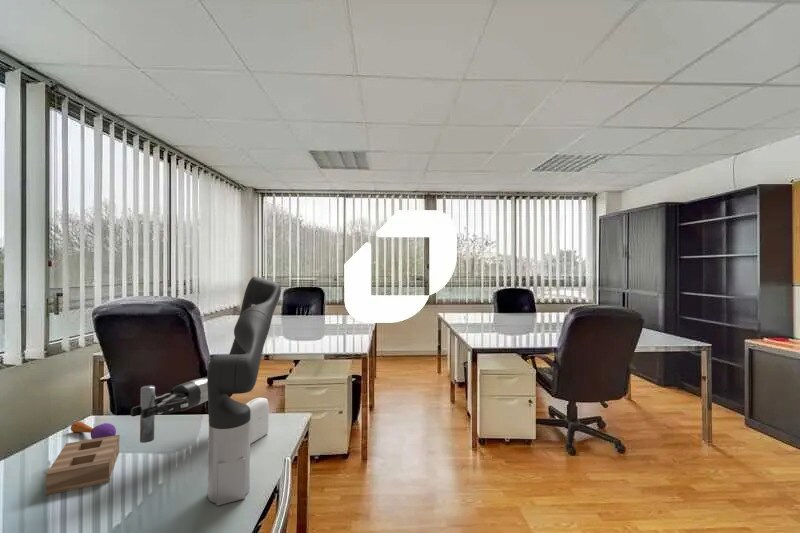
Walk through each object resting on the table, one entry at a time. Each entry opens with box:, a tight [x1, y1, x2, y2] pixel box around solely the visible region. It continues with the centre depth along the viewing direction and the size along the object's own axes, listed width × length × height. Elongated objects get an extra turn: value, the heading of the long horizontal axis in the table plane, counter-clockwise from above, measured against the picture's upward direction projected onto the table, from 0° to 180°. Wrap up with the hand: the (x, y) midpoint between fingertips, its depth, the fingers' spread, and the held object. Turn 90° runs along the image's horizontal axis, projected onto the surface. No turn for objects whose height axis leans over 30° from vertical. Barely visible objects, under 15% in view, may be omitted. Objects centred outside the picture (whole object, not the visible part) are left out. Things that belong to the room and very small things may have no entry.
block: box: [45, 434, 120, 496], centre depth 102 cm, size 18×12×5 cm, turn 29°
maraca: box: [70, 420, 117, 439], centre depth 122 cm, size 6×6×20 cm
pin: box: [139, 384, 156, 444], centre depth 103 cm, size 3×3×14 cm
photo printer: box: [245, 397, 270, 445], centre depth 123 cm, size 10×4×12 cm, turn 160°
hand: (137, 413), depth 100 cm, fingers closed on pin, 3 cm apart
